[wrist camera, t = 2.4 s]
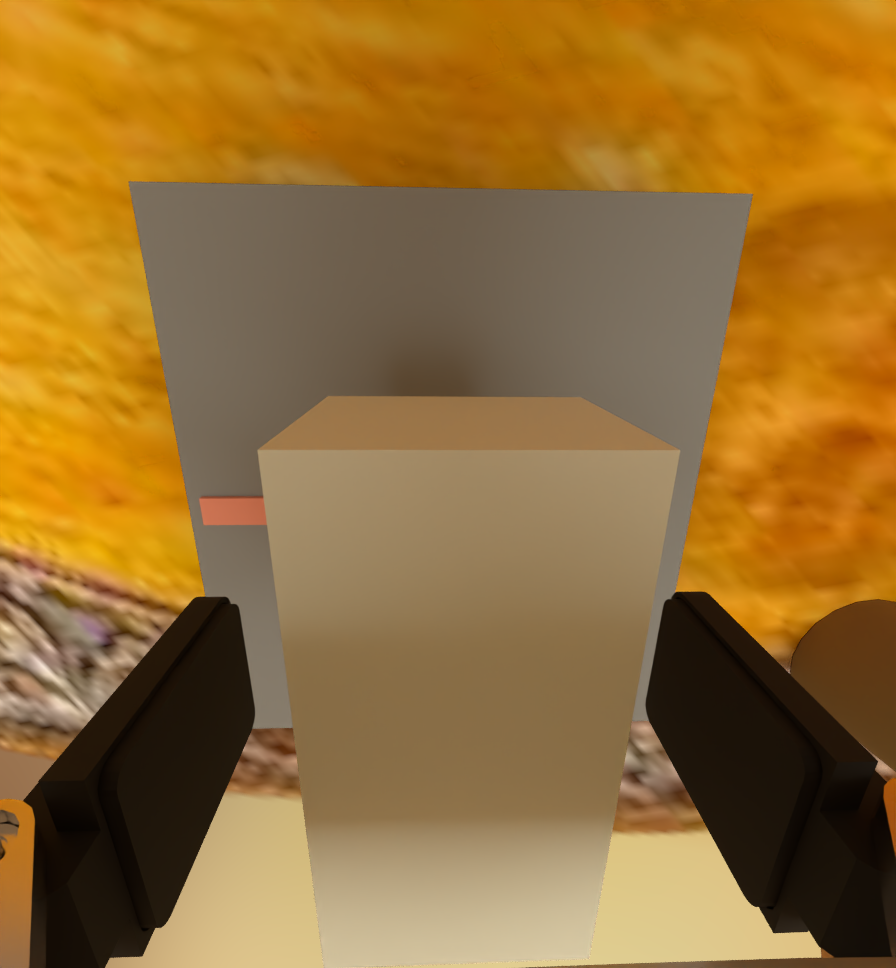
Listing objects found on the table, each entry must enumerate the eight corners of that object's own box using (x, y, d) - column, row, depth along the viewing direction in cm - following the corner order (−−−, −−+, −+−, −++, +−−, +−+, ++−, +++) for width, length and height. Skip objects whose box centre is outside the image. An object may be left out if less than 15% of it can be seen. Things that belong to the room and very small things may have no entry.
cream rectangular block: (332, 377, 12) (213, 449, 5) (565, 378, 12) (721, 449, 6) (355, 702, 16) (299, 985, 9) (536, 698, 16) (611, 973, 9)
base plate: (157, 194, 15) (47, 144, 10) (723, 205, 15) (834, 162, 11) (243, 701, 21) (196, 796, 17) (635, 694, 22) (684, 785, 18)
